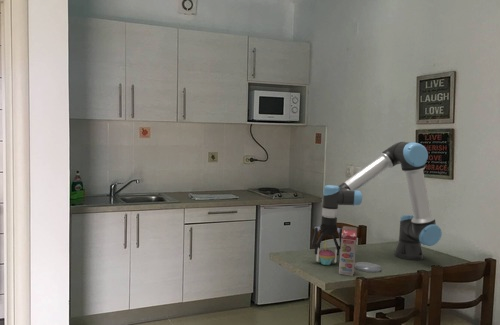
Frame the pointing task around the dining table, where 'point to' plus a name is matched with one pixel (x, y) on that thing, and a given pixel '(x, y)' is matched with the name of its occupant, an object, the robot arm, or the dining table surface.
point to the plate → (367, 267)
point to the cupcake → (326, 256)
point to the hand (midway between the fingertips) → (326, 261)
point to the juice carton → (348, 250)
